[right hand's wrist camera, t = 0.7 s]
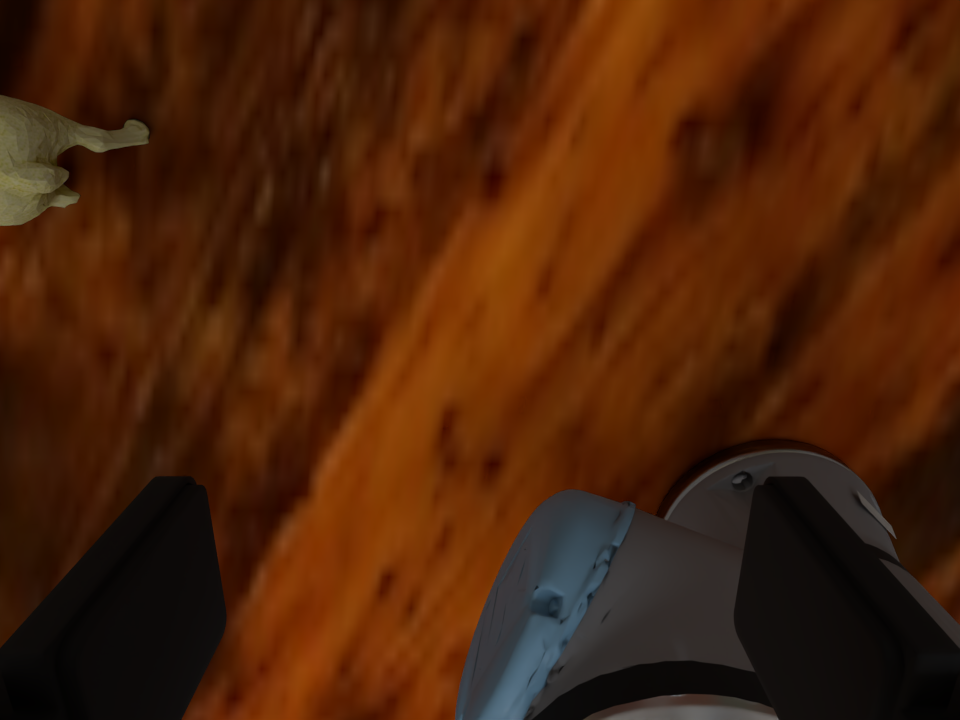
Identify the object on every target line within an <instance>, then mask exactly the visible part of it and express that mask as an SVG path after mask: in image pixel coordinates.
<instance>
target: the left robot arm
mask: <svg viewBox="0 0 960 720" xmlns="http://www.w3.org/2000/svg"><path fill="white" fill-rule="evenodd" d="M769 476H801V477H805V478H806V479H808V480H809V481H810V482H811V484H812V485H813V486H814V487H815V488H816V489H817V490H818V491H819V492H820V494H821V495H822V496H823V497H824V498H825V499H826V500H827V501H828V502H829V504H830V505H831V506H832V507H833V508H834V509H835V510H836V511H837V512H838V514H839V515H840V516H841V517H842V518H843V519H844V520H845V521H846V522H847V524H848V525H849V526H850V527H851V528H852V529H853V530H854V531H855V532H856V534H857V535H858V536H859V537H860V538H861V539H862V540H863V541H864V542H865V544H866V545H867V546H868V547H869V548H870V549H871V550H872V551H873V552H874V554H875V555H876V556H877V557H878V558H879V559H880V560H881V561H882V562H883V564H884V565H885V566H886V567H887V568H888V569H889V570H890V571H891V572H892V574H893V575H894V576H895V577H896V578H897V579H898V580H899V581H900V582H901V584H902V585H903V586H904V587H905V588H906V589H907V590H908V591H909V592H910V594H911V595H912V596H913V597H914V598H915V599H916V600H917V601H918V602H919V604H920V605H921V606H922V607H923V608H924V609H925V610H926V611H927V612H928V614H929V615H930V616H931V617H932V618H933V619H934V620H935V621H936V623H937V624H938V625H939V626H940V627H941V628H942V629H943V630H944V631H945V633H946V634H947V635H948V636H949V637H950V638H951V639H952V640H953V641H954V643H955V644H956V645H957V646H958V647H959V648H960V625H959V624H958V623H957V622H956V621H955V620H954V619H953V618H952V617H951V616H950V615H949V614H948V613H947V612H946V611H945V610H944V608H943V607H942V606H941V605H940V604H939V603H938V602H937V601H936V600H935V599H934V598H933V597H932V596H931V595H930V594H929V593H928V592H927V591H926V590H925V589H924V588H923V586H922V585H921V584H920V583H919V582H918V581H917V580H916V579H915V578H914V577H913V576H912V575H911V574H910V573H909V572H908V571H907V570H906V569H905V568H904V567H903V566H902V565H901V563H900V562H899V560H898V557H897V555H896V552H895V550H894V547H893V545H892V542H891V540H890V537H889V535H888V533H887V530H888V531H889V532H890V533H891V534H892V535H893V536H894V537H895V538H896V536H895V534H894V531H893V529H892V527H891V525H890V524H889V523H888V522H887V521H886V520H885V519H884V518H883V517H882V514H881V511H880V508H879V506H878V504H877V502H876V500H875V498H874V496H873V494H872V492H871V491H870V490H869V488H868V487H867V486H866V484H865V483H864V482H863V481H862V480H861V479H860V478H859V477H858V476H857V475H856V474H855V473H854V472H853V471H852V470H851V469H850V468H849V467H848V466H847V465H845V464H844V463H843V462H842V461H841V460H839V459H838V458H837V457H835V456H834V455H832V454H830V453H828V452H826V451H825V450H823V449H820V448H818V447H815V446H812V445H809V444H805V443H801V442H796V441H788V440H763V441H755V442H750V443H745V444H741V445H738V446H734V447H731V448H729V449H726V450H723V451H721V452H719V453H717V454H715V455H713V456H711V457H709V458H707V459H706V460H704V461H702V462H701V463H699V464H698V465H696V466H695V467H694V468H692V469H691V470H690V471H689V472H688V473H686V474H685V475H684V476H683V477H682V478H681V479H680V480H679V481H678V482H677V483H676V484H675V486H674V487H673V488H672V489H671V490H670V492H669V493H668V495H667V496H666V497H665V499H664V501H663V503H662V504H661V506H660V508H659V511H658V513H657V515H656V516H654V515H652V514H649V513H647V512H644V511H642V510H639V509H637V508H635V507H636V504H634V503H632V502H629V501H624V502H622V503H620V502H616V501H613V500H610V499H607V498H604V497H601V496H598V495H595V494H591V493H588V492H585V491H581V490H574V489H570V490H564V491H560V492H558V493H556V494H554V495H553V496H551V497H549V498H548V499H547V500H545V501H544V502H543V503H541V504H540V505H539V506H538V507H537V508H536V510H535V511H534V512H533V513H532V515H531V516H530V517H529V519H528V520H527V521H526V523H525V524H524V526H523V527H522V529H521V531H520V532H519V534H518V536H517V537H516V539H515V541H514V543H513V544H512V546H511V548H510V550H509V552H508V554H507V556H506V558H505V560H504V562H503V564H502V566H501V568H500V570H499V573H498V575H497V577H496V579H495V582H494V584H493V586H492V588H491V591H490V593H489V596H488V598H487V601H486V603H485V606H484V608H483V611H482V613H481V616H480V619H479V622H478V625H477V627H476V630H475V633H474V636H473V639H472V642H471V646H470V649H469V652H468V655H467V659H466V662H465V666H464V670H463V674H462V678H461V683H460V687H459V692H458V698H457V705H456V715H455V720H779V719H778V717H777V715H776V713H775V711H774V709H773V707H772V705H771V703H770V701H769V699H768V697H767V695H766V693H765V691H764V689H763V687H762V685H761V683H760V681H759V679H758V677H757V675H756V672H755V670H754V668H753V666H752V664H751V662H750V660H749V658H748V656H747V654H746V652H745V650H744V648H743V646H742V644H741V642H740V640H739V638H738V636H737V633H736V630H735V626H734V607H735V601H736V595H737V589H738V583H739V576H740V570H741V564H742V558H743V552H744V546H745V540H746V533H747V527H748V521H749V515H750V509H751V503H752V496H753V492H754V489H755V487H756V486H757V485H763V484H764V482H765V480H766V478H768V477H769ZM886 529H887V530H886Z"/></svg>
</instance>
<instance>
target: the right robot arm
mask: <svg viewBox="0 0 960 720" xmlns="http://www.w3.org/2000/svg"><path fill="white" fill-rule="evenodd" d="M225 626H226V607H225V601H224V595H223V589H222V583H221V576H220V570H219V564H218V558H217V552H216V546H215V540H214V533H213V527H212V521H211V515H210V509H209V503H208V496H207V492H206V489H205V487H204V486H203V485H197V484H196V482H195V480H194V478H192V477H191V476H159V477H155V478H154V479H152V480H151V481H150V482H149V484H148V485H147V486H146V487H145V488H144V489H143V490H142V491H141V492H140V494H139V495H138V496H137V497H136V498H135V499H134V500H133V501H132V502H131V504H130V505H129V506H128V507H127V508H126V509H125V510H124V511H123V512H122V514H121V515H120V516H119V517H118V518H117V519H116V520H115V521H114V522H113V524H112V525H111V526H110V527H109V528H108V529H107V530H106V531H105V532H104V534H103V535H102V536H101V537H100V538H99V539H98V540H97V541H96V542H95V544H94V545H93V546H92V547H91V548H90V549H89V550H88V551H87V552H86V554H85V555H84V556H83V557H82V558H81V559H80V560H79V561H78V562H77V564H76V565H75V566H74V567H73V568H72V569H71V570H70V571H69V572H68V574H67V575H66V576H65V577H64V578H63V579H62V580H61V581H60V582H59V584H58V585H57V586H56V587H55V588H54V589H53V590H52V591H51V592H50V594H49V595H48V596H47V597H46V598H45V599H44V600H43V601H42V602H41V604H40V605H39V606H38V607H37V608H36V609H35V610H34V611H33V612H32V614H31V615H30V616H29V617H28V618H27V619H26V620H25V621H24V623H23V624H22V625H21V626H20V627H19V628H18V629H17V630H16V631H15V633H14V634H13V635H12V636H11V637H10V638H9V639H8V640H7V641H6V643H5V644H4V645H3V646H2V647H1V648H0V720H181V719H182V717H183V715H184V713H185V711H186V709H187V707H188V705H189V703H190V701H191V699H192V697H193V695H194V693H195V691H196V689H197V687H198V685H199V683H200V681H201V679H202V677H203V675H204V672H205V670H206V668H207V666H208V664H209V662H210V660H211V658H212V656H213V654H214V652H215V650H216V648H217V646H218V644H219V642H220V640H221V638H222V636H223V633H224V630H225ZM734 626H735V630H736V633H737V636H738V638H739V640H740V642H741V644H742V646H743V648H744V650H745V652H746V654H747V656H748V658H749V660H750V662H751V664H752V666H753V668H754V670H755V672H756V675H757V677H758V679H759V681H760V683H761V685H762V687H763V689H764V691H765V693H766V695H767V697H768V699H769V701H770V703H771V705H772V707H773V709H774V711H775V713H776V715H777V717H778V719H779V720H960V648H959V647H958V646H957V645H956V644H955V643H954V641H953V640H952V639H951V638H950V637H949V636H948V635H947V634H946V633H945V631H944V630H943V629H942V628H941V627H940V626H939V625H938V624H937V623H936V621H935V620H934V619H933V618H932V617H931V616H930V615H929V614H928V612H927V611H926V610H925V609H924V608H923V607H922V606H921V605H920V604H919V602H918V601H917V600H916V599H915V598H914V597H913V596H912V595H911V594H910V592H909V591H908V590H907V589H906V588H905V587H904V586H903V585H902V584H901V582H900V581H899V580H898V579H897V578H896V577H895V576H894V575H893V574H892V572H891V571H890V570H889V569H888V568H887V567H886V566H885V565H884V564H883V562H882V561H881V560H880V559H879V558H878V557H877V556H876V555H875V554H874V552H873V551H872V550H871V549H870V548H869V547H868V546H867V545H866V544H865V542H864V541H863V540H862V539H861V538H860V537H859V536H858V535H857V534H856V532H855V531H854V530H853V529H852V528H851V527H850V526H849V525H848V524H847V522H846V521H845V520H844V519H843V518H842V517H841V516H840V515H839V514H838V512H837V511H836V510H835V509H834V508H833V507H832V506H831V505H830V504H829V502H828V501H827V500H826V499H825V498H824V497H823V496H822V495H821V494H820V492H819V491H818V490H817V489H816V488H815V487H814V486H813V485H812V484H811V482H810V481H809V480H808V479H806V478H805V477H801V476H769V477H768V478H766V480H765V482H764V484H763V485H757V486H756V487H755V489H754V492H753V496H752V503H751V509H750V515H749V521H748V527H747V533H746V540H745V546H744V552H743V558H742V564H741V570H740V576H739V583H738V589H737V595H736V601H735V607H734Z"/></svg>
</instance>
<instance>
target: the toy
mask: <svg viewBox="0 0 960 720" xmlns="http://www.w3.org/2000/svg"><path fill="white" fill-rule="evenodd" d="M148 139H149V128H148V127H147V126H146V125H145V124H144V123H143V122H142V121H139V120H137V119H131V120H127V121H126V122H125V124H124V126H123V129H121V130H113V131H106V130H102V129H98V128H95V127H90V126H84V125H81V124H79V123H77V122H74V121H72V120H70V119H68V118H66V117H63V116H61V115H59V114H57V113H55V112H53V111H51V110H49V109H47V108H44V107H42V106H39V105H36V104H33V103H29V102H26V101H22V100H19V99H15V98H10V97H7V96H3V95H0V226H2V225H4V226H5V225H21V224H24V223H25V222H27V221H29V220H31V219H33V218H34V217H36V216H38V215H40V213H41V212H43V211H44V210H45V209H46V208H48V207H50V206H58V207H64V208H65V207H66V206H68V205H69V204H73V203H77V201H78V199H79V197H80V194H78V193H76V192H74V191H72V190H70V189H69V188H68V187H66V186H65V185H64V184H63V183H64V182H65V181H66V180H67V179H68V178H69V172H68V171H67V170H65V169H64V168H62V167H58V166H57V156H58V155H59V154H61V153H62V152H64V151H65V150H66V149H68V148H70V147H72V146H75V145H77V144H78V145H82V146H84V147H86V148H88V149H90V150H92V151H94V152H104V151H107V150H110V149H116V148H122V147H127V146H133V145H141V144H147V143H149V142H148Z"/></svg>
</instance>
